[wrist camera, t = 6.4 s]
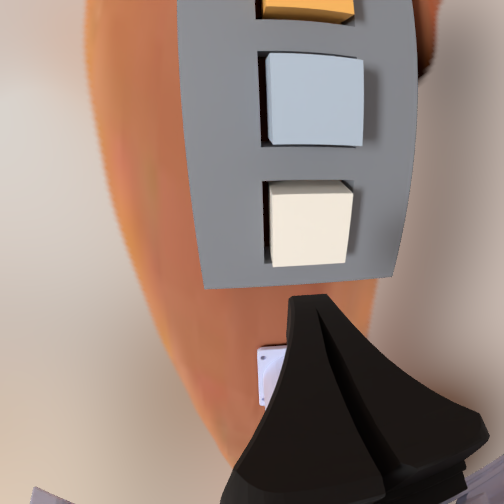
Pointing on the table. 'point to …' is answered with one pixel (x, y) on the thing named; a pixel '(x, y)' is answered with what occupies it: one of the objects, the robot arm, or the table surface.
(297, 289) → the table surface
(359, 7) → the button board
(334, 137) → the slate-blue button
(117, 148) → the table surface
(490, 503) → the robot arm
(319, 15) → the orange button
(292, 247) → the cream button
